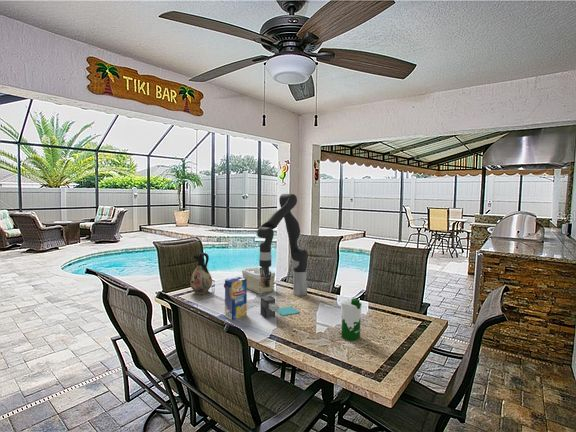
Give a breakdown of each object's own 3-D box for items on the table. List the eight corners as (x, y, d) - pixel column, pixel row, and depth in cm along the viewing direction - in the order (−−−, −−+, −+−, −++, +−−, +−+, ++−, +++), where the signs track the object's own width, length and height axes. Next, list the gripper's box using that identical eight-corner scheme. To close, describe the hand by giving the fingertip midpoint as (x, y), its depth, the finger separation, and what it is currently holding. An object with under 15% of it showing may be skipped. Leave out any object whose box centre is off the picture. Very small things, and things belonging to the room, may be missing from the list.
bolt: (267, 301, 201) (267, 297, 201) (279, 310, 187) (279, 305, 187) (261, 302, 199) (261, 298, 199) (272, 311, 185) (272, 307, 185)
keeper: (270, 312, 201) (270, 295, 200) (275, 316, 195) (275, 299, 194) (260, 314, 198) (260, 297, 197) (265, 318, 192) (265, 300, 191)
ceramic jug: (186, 294, 235) (185, 253, 233) (197, 288, 249) (197, 249, 247) (207, 297, 230) (206, 254, 228) (217, 290, 244) (217, 251, 242)
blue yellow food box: (246, 314, 197) (246, 278, 195) (232, 319, 189) (232, 282, 187) (239, 312, 201) (239, 276, 200) (224, 316, 193) (224, 280, 192)
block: (267, 285, 210) (267, 276, 210) (269, 287, 206) (269, 277, 206) (260, 286, 208) (260, 276, 208) (263, 287, 204) (263, 278, 204)
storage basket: (276, 291, 246) (276, 271, 245) (258, 295, 236) (258, 274, 235) (258, 284, 265) (258, 266, 264) (241, 287, 255) (241, 268, 254)
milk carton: (354, 342, 162) (355, 303, 160) (338, 337, 167) (339, 299, 166) (362, 336, 168) (363, 298, 167) (347, 331, 174) (347, 295, 173)
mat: (290, 306, 212) (290, 306, 212) (299, 312, 201) (299, 312, 201) (274, 309, 206) (274, 308, 206) (282, 316, 196) (282, 315, 196)
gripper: (275, 260, 201) (275, 287, 203) (266, 256, 214) (266, 281, 215) (264, 261, 198) (263, 289, 199) (255, 257, 211) (255, 283, 212)
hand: (265, 285), depth 207 cm, fingers closed on block, 4 cm apart
